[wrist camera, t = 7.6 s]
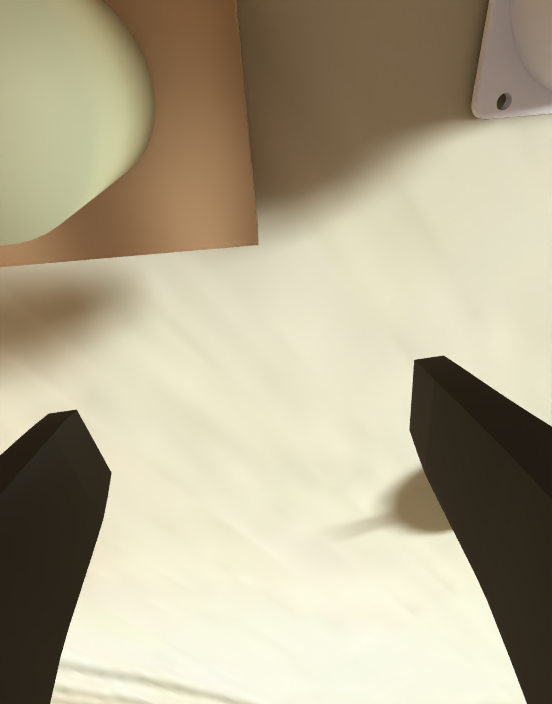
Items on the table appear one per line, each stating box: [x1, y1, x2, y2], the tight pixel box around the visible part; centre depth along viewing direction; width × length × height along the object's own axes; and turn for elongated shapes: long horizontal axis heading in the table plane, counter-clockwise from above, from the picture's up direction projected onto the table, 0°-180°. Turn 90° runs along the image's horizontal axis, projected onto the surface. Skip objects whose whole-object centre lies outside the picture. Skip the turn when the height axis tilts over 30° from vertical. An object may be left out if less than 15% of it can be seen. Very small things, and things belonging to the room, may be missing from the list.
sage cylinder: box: [0, 0, 155, 246], centre depth 9 cm, size 5×5×6 cm
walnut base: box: [0, 0, 258, 267], centre depth 13 cm, size 10×10×3 cm
